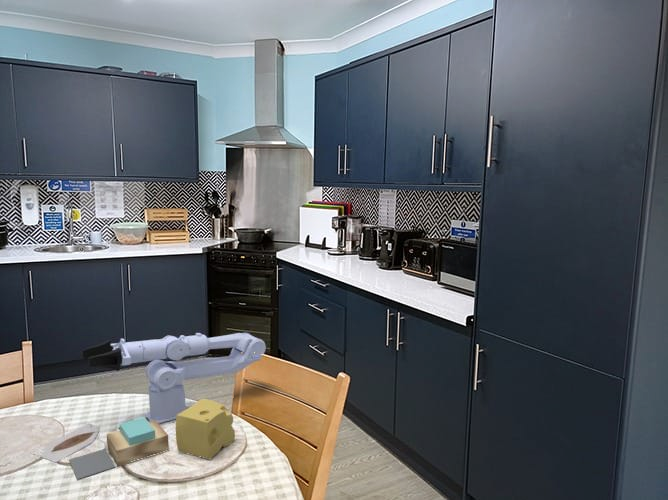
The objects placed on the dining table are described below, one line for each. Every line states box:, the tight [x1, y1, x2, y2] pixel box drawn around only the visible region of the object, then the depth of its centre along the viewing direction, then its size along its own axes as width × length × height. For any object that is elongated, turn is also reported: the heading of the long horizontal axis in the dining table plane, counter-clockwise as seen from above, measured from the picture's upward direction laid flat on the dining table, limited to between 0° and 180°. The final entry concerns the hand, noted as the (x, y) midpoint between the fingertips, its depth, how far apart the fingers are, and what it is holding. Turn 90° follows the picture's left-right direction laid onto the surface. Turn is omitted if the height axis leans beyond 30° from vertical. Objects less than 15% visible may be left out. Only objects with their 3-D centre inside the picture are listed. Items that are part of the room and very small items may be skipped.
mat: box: [68, 448, 116, 481], centre depth 113 cm, size 8×10×1 cm
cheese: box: [175, 398, 236, 460], centre depth 120 cm, size 10×11×10 cm
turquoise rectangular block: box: [118, 416, 155, 446], centre depth 119 cm, size 6×9×2 cm, turn 38°
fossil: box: [37, 422, 101, 464], centre depth 123 cm, size 16×1×10 cm
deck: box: [106, 420, 170, 468], centre depth 119 cm, size 12×10×4 cm
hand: (85, 357), depth 123 cm, fingers open, 7 cm apart
